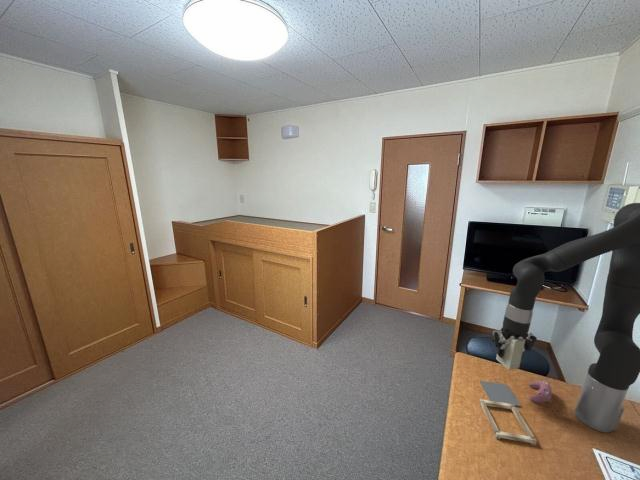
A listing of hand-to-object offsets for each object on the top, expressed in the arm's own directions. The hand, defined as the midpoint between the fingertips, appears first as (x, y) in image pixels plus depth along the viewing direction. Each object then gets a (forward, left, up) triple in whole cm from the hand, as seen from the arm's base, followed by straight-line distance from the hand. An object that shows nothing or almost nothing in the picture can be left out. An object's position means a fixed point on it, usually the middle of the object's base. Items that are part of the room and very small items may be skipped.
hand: (508, 357), depth 96 cm
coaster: (0, 0, -17) cm, 17 cm away
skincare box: (0, 0, -3) cm, 3 cm away
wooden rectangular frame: (+4, +13, -17) cm, 22 cm away
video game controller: (-14, -2, -17) cm, 22 cm away
